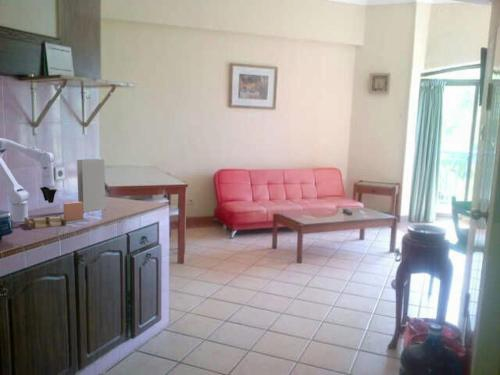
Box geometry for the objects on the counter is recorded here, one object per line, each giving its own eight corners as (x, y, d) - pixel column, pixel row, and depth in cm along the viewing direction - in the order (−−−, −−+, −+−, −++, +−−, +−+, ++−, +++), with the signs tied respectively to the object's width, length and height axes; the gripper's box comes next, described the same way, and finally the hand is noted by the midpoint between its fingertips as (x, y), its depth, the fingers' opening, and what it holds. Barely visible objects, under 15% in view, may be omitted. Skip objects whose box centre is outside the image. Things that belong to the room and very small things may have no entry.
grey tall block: (100, 208, 275) (99, 158, 270) (105, 209, 271) (104, 159, 267) (78, 211, 264) (76, 159, 259) (83, 212, 260) (82, 160, 256)
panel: (64, 219, 238) (63, 203, 237) (81, 218, 244) (81, 201, 242) (65, 221, 236) (65, 204, 235) (83, 219, 241) (82, 202, 240)
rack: (24, 224, 229) (24, 217, 229) (57, 220, 239) (57, 214, 238) (31, 230, 217) (31, 223, 217) (66, 226, 227) (65, 219, 227)
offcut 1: (33, 227, 222) (33, 219, 221) (44, 225, 225) (44, 217, 224) (35, 228, 220) (34, 220, 219) (46, 226, 223) (45, 219, 222)
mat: (58, 219, 242) (58, 218, 242) (81, 216, 249) (81, 215, 249) (65, 224, 231) (65, 223, 231) (89, 221, 238) (89, 220, 238)
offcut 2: (48, 225, 226) (48, 217, 226) (59, 224, 229) (59, 216, 229) (50, 226, 224) (50, 218, 223) (61, 225, 227) (60, 217, 226)
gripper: (59, 176, 230) (60, 203, 232) (52, 173, 242) (53, 198, 244) (44, 177, 226) (46, 204, 228) (37, 174, 237) (39, 200, 239)
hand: (48, 201), depth 236 cm, fingers open, 7 cm apart
